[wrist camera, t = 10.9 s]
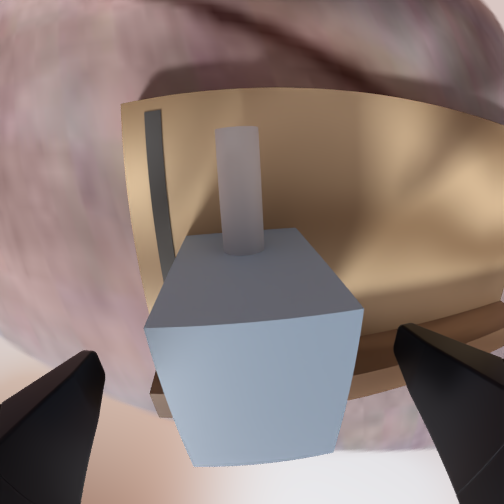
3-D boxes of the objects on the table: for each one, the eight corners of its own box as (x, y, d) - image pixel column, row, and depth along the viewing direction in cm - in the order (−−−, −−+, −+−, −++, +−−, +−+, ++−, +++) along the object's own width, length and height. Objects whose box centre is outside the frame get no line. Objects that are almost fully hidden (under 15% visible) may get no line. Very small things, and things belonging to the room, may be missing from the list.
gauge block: (294, 339, 12) (333, 452, 7) (203, 347, 12) (193, 466, 6) (292, 131, 10) (371, 107, 4) (177, 138, 9) (111, 121, 4)
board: (481, 310, 15) (516, 339, 11) (171, 359, 14) (159, 417, 10) (503, 130, 11) (551, 135, 7) (133, 109, 10) (91, 92, 6)
